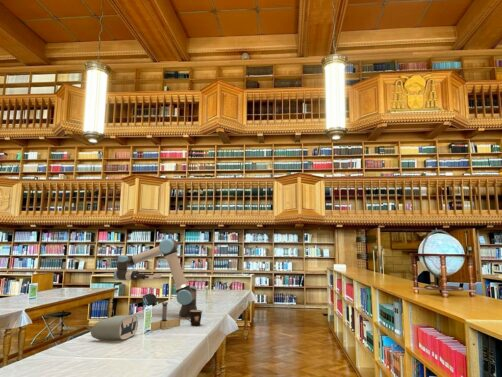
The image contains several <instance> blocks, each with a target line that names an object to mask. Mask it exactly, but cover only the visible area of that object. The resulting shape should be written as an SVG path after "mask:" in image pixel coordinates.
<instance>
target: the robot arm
mask: <svg viewBox="0 0 502 377" xmlns="http://www.w3.org/2000/svg"><path fill="white" fill-rule="evenodd" d="M178 244H179V243H178V241H176V239H173V238H165V239H162V240H161V241H160V243H159V245H158V246H156V247H153V248H150V249H148V250H145V251H142V252H139V253H136V254H134V255H131V256H128V255H118V256H117V257H118V258H117V270H115V271H114V273H113V279H114V280H116V281H128V282H130V281H138V280H146V279H147V280H154V278H162V274H161V273H154V272H153V273H142V272H141V273H140V272H139V270H128V268H129V267H133V266H135V265H137V264H139V263H142V262H146V261H148V260H151V259H153V258H156V257H158V256H163V258H164V259H166V261H167V264H168V267H169V270H170V273H171V275H172V278H173V281H174V284H175V287H176V288H175V294H176V301H177V302H178V303H179V305H181V307H180V309H179V312H178V315H179V316H180V317H186V318H187V317H188V318H189V317H190V315H189V314H186V313H190V310H198V307H197V291H198V290H197V286H195V285H193V286H192V285H190V284H189V283H187V280H186V277H185V275H184V274H185V273H184V271H183V269H182V265H181V264H180V260H179V257H178V253H179V251H178V248H179V245H178ZM185 314H186V315H185Z"/></svg>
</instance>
